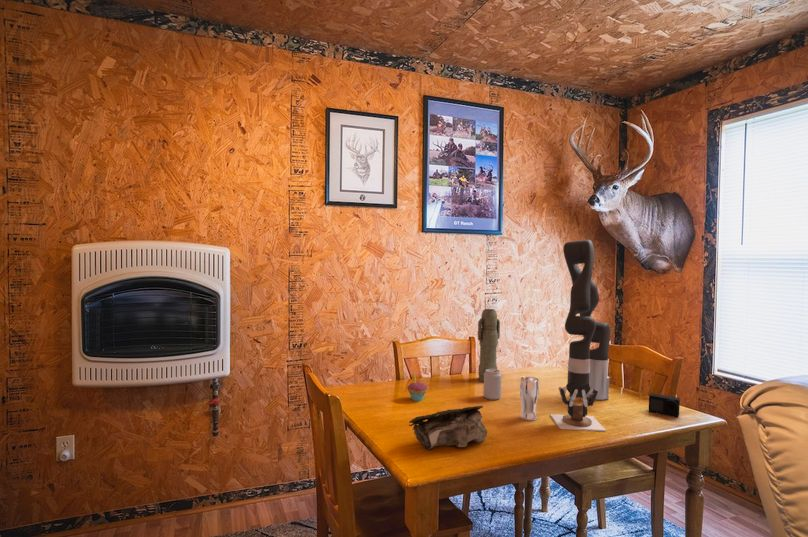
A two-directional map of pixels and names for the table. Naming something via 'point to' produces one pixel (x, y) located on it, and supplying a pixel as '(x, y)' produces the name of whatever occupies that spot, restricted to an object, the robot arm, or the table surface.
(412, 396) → the cupcake
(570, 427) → the white mat
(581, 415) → the walnut lid
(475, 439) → the hollow geode rock
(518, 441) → the table surface
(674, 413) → the digital camera
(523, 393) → the beer glass
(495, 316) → the green statue
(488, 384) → the can
